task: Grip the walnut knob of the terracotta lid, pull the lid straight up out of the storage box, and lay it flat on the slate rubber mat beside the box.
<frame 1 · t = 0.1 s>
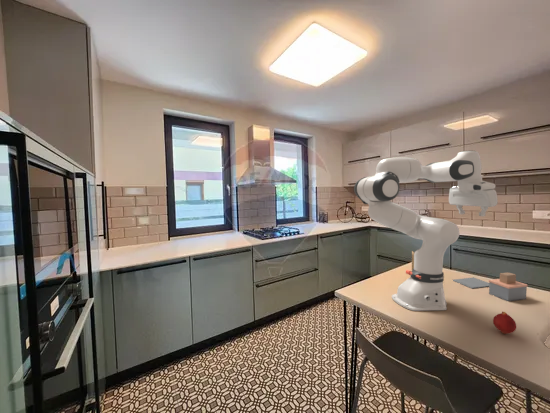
hand: (471, 215, 109), 39 cm above the table, tool pointing down, fingers open, 8 cm apart
mat: (472, 283, 124), on the table
lid: (507, 286, 108), point 5 cm above the table, touching storage box
storage box: (507, 296, 109), on the table
sandwich container: (427, 279, 132), on the table
onion: (504, 334, 82), on the table
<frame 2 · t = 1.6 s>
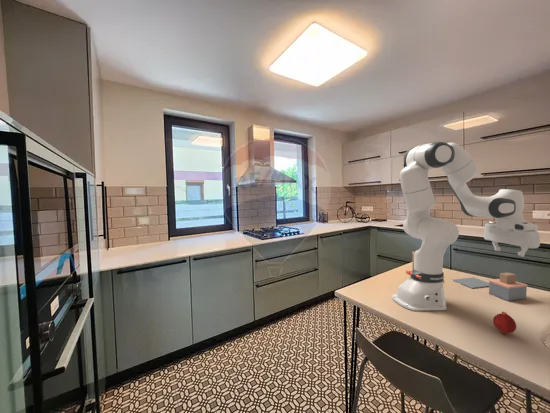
hand: (508, 253, 107), 21 cm above the table, tool pointing down, fingers open, 8 cm apart
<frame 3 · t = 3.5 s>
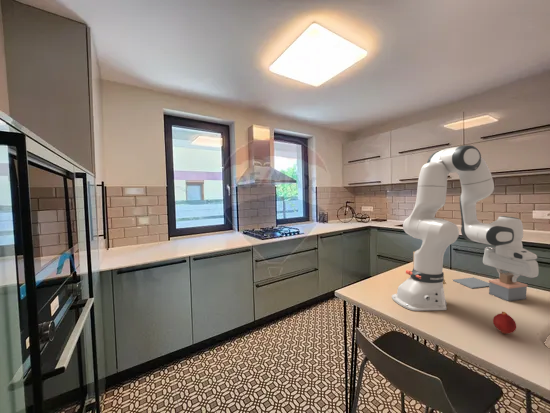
hand: (507, 280, 108), 8 cm above the table, tool pointing down, fingers closed on lid, 3 cm apart
lid: (507, 286, 108), point 5 cm above the table, touching gripper, storage box
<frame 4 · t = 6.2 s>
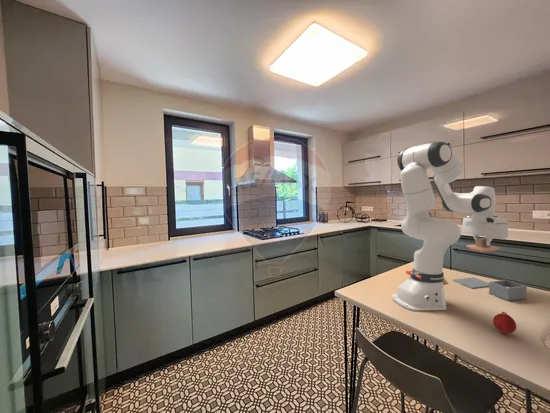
hand: (482, 244, 119), 22 cm above the table, tool pointing down, fingers closed on lid, 3 cm apart
lid: (482, 250, 119), point 19 cm above the table, touching gripper
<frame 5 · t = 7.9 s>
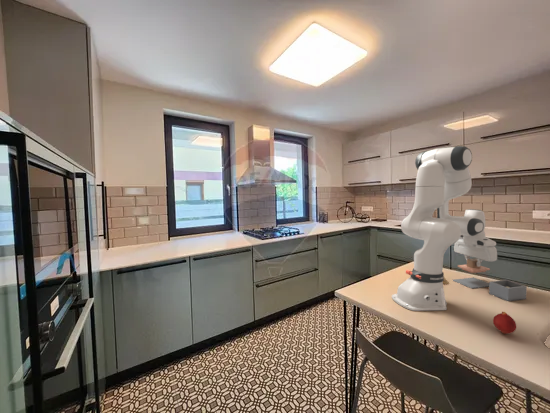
hand: (473, 264, 124), 10 cm above the table, tool pointing down, fingers closed on lid, 3 cm apart
lid: (473, 270, 124), point 7 cm above the table, touching gripper
when the fingers open (5 cm above the table, at t = 9.1 s): lid drops 1 cm, resting on mat.
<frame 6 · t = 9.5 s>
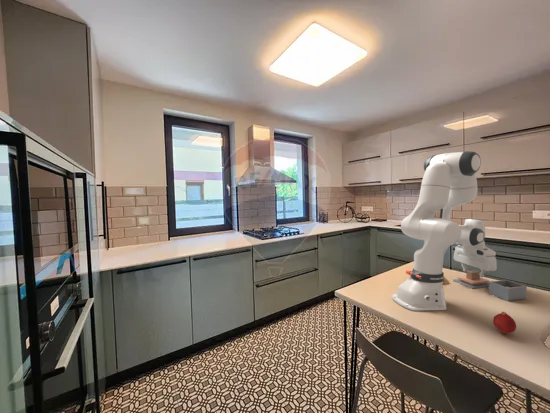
hand: (473, 273, 124), 5 cm above the table, tool pointing down, fingers open, 7 cm apart
lid: (472, 282, 124), resting on mat
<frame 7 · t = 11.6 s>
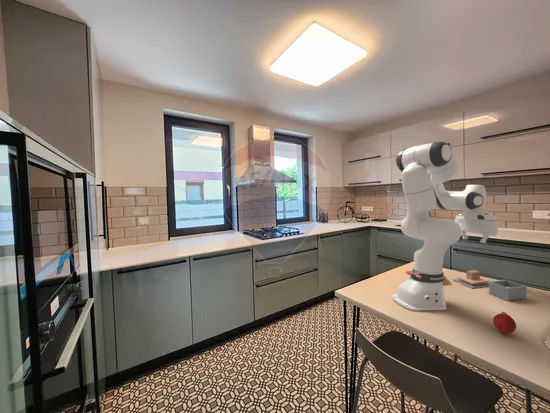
hand: (473, 241, 123), 23 cm above the table, tool pointing down, fingers open, 8 cm apart
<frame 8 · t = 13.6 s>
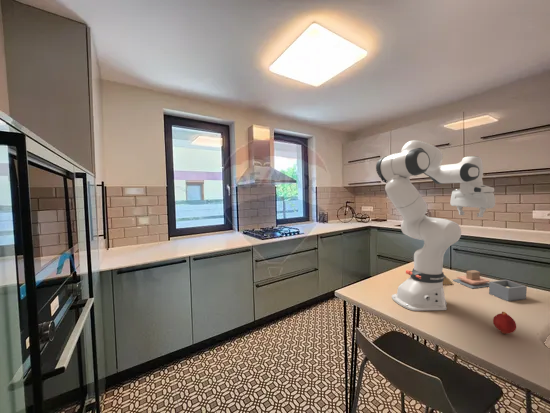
hand: (470, 215, 118), 37 cm above the table, tool pointing down, fingers open, 8 cm apart
at the end: lid inside the target area on the mat (0.0 cm from its centre), point 0.5 cm above the mat's base; lid tilted 0°; the gripper is holding nothing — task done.
